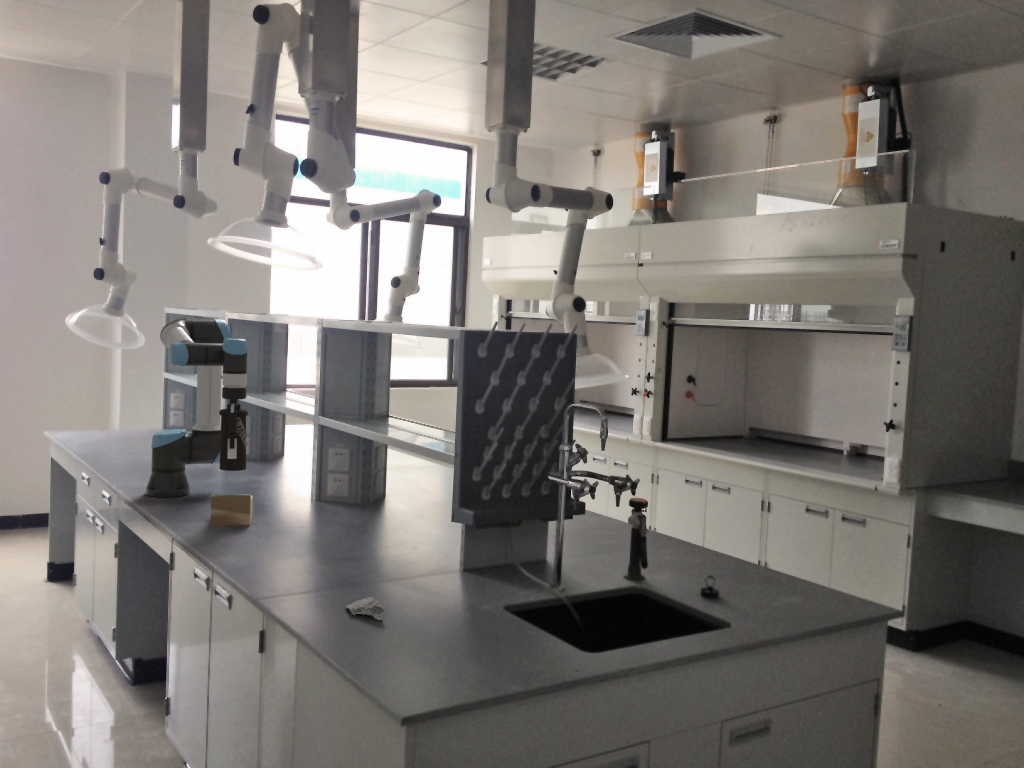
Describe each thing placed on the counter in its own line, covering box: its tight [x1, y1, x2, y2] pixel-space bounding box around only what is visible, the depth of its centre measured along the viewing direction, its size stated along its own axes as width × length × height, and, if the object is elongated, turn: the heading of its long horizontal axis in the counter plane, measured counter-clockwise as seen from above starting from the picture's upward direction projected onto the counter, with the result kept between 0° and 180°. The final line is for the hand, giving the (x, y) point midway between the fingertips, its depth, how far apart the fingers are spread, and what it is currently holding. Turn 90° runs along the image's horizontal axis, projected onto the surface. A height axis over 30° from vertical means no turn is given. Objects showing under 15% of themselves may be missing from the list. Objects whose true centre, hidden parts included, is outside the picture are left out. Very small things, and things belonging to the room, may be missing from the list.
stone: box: [345, 596, 385, 618], centre depth 207 cm, size 6×12×4 cm, turn 27°
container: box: [219, 408, 249, 472], centre depth 290 cm, size 9×9×20 cm
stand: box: [210, 493, 254, 527], centre depth 293 cm, size 17×12×10 cm
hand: (233, 456), depth 290 cm, fingers closed on container, 8 cm apart
